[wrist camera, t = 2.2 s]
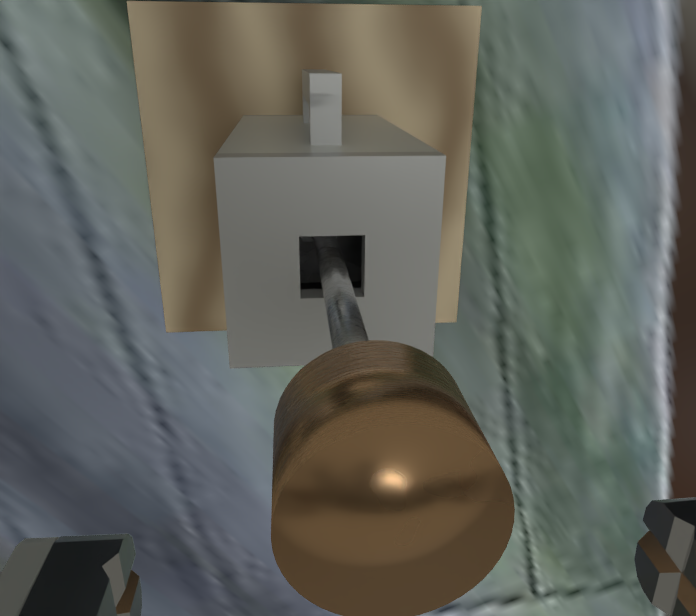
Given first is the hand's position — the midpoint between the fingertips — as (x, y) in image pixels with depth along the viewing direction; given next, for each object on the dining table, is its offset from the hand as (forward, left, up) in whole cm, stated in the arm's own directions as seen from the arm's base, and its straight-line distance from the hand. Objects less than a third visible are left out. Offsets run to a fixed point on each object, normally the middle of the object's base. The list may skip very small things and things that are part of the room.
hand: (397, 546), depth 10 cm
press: (0, +1, -31) cm, 31 cm away
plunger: (0, 0, -21) cm, 21 cm away
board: (0, 0, -32) cm, 32 cm away
